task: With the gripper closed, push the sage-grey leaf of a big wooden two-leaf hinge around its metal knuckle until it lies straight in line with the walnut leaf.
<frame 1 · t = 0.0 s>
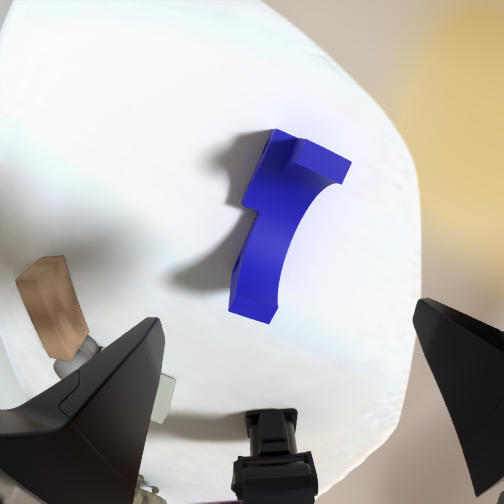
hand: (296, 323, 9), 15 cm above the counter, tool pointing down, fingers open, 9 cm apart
hinge base: (85, 345, 28), on the counter
cable clip: (268, 210, 23), on the counter
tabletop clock: (138, 476, 44), on the counter
hinge leaf: (113, 379, 27), point 3 cm above the counter, hinge at 60.0°
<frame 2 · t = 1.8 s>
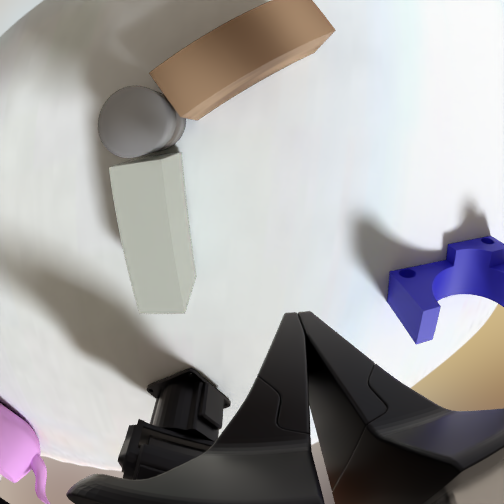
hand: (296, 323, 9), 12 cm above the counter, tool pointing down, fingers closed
hinge base: (158, 122, 17), on the counter
cable clip: (442, 265, 22), on the counter
teapot: (14, 420, 35), on the counter
hinge leaf: (153, 198, 17), point 3 cm above the counter, hinge at 60.0°
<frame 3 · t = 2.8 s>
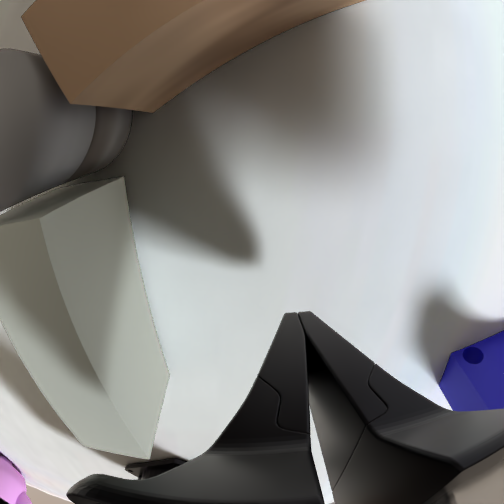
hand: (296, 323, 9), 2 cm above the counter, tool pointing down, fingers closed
hinge base: (85, 122, 8), on the counter
hinge leaf: (69, 275, 8), point 3 cm above the counter, hinge at 60.0°
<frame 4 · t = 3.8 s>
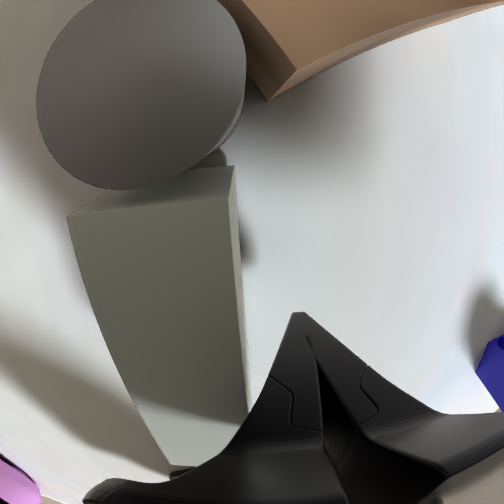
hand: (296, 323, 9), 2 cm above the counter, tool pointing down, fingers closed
hinge base: (183, 102, 8), on the counter
teapot: (10, 466, 25), on the counter
hinge leaf: (182, 273, 8), point 3 cm above the counter, hinge at 59.6°, touching gripper
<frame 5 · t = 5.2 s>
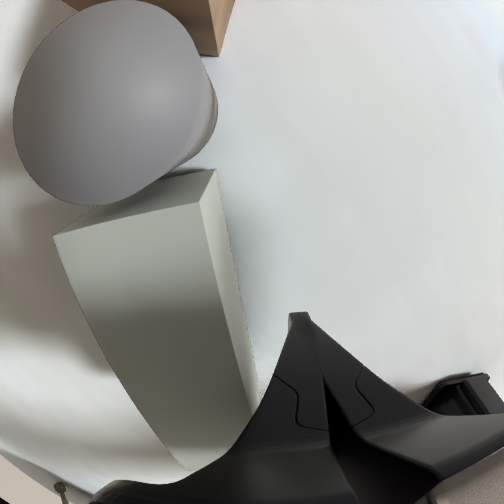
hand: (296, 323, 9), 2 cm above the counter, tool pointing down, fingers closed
hinge base: (159, 113, 8), on the counter
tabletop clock: (105, 498, 22), on the counter
hinge leaf: (174, 280, 8), point 3 cm above the counter, hinge at 20.8°, touching gripper
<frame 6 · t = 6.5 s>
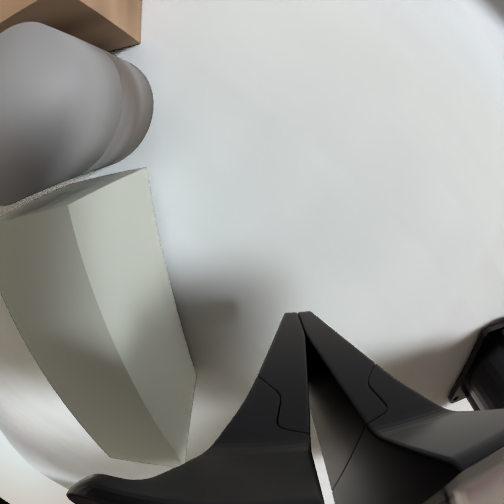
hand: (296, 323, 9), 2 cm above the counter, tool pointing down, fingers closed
hinge base: (101, 112, 8), on the counter
hinge leaf: (92, 274, 7), point 3 cm above the counter, hinge at 2.9°
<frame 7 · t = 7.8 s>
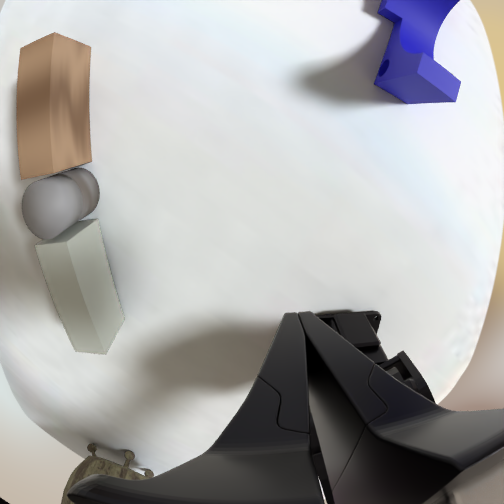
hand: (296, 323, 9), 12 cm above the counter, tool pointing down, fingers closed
hinge base: (79, 192, 19), on the counter
cable clip: (400, 29, 15), on the counter
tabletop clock: (127, 453, 35), on the counter
hinge leaf: (75, 262, 18), point 3 cm above the counter, hinge at 2.9°
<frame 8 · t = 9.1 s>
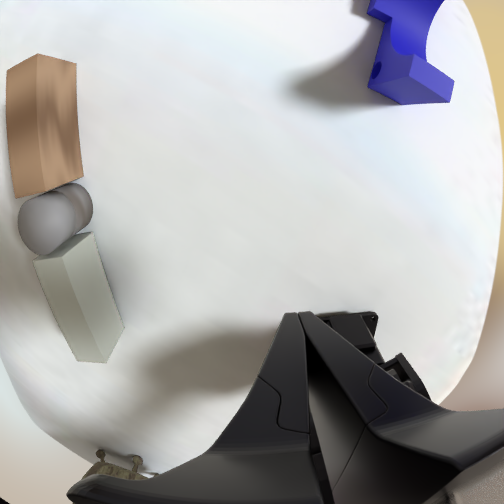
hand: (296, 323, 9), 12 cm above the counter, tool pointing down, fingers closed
hinge base: (73, 206, 20), on the counter
cable clip: (391, 28, 15), on the counter
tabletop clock: (135, 458, 36), on the counter
hinge leaf: (73, 275, 19), point 3 cm above the counter, hinge at 2.9°
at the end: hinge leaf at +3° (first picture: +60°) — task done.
